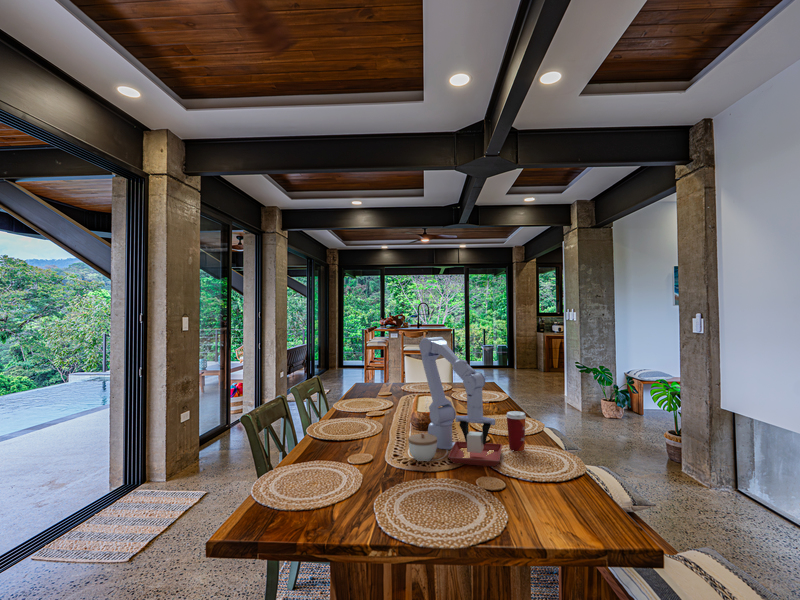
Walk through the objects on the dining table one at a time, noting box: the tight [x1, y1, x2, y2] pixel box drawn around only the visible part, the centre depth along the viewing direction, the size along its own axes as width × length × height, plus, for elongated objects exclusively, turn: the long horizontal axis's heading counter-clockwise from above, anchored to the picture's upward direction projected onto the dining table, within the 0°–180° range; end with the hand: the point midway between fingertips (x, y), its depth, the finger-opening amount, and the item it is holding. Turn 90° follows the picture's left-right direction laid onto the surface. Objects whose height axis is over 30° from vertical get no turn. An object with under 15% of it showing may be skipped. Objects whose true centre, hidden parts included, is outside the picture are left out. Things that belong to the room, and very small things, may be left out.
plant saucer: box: [447, 440, 503, 467], centre depth 148 cm, size 18×18×3 cm
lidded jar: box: [407, 432, 438, 462], centre depth 148 cm, size 11×11×9 cm
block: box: [467, 430, 484, 453], centre depth 148 cm, size 5×5×6 cm
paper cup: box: [505, 410, 527, 452], centre depth 156 cm, size 8×8×14 cm
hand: (475, 442), depth 148 cm, fingers open, 6 cm apart
